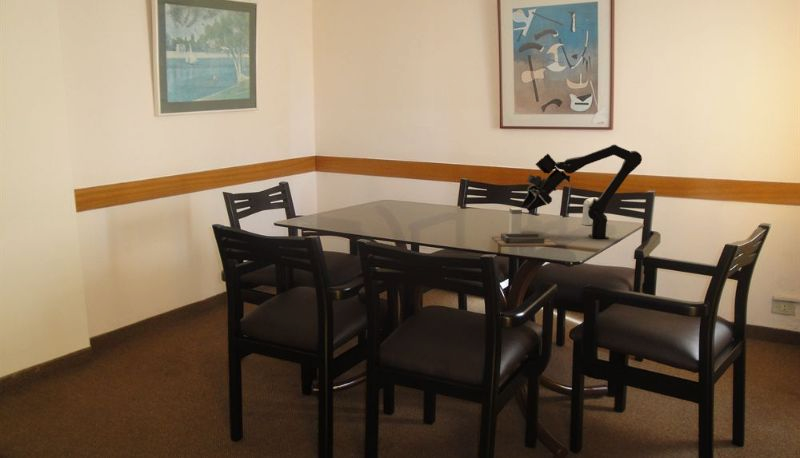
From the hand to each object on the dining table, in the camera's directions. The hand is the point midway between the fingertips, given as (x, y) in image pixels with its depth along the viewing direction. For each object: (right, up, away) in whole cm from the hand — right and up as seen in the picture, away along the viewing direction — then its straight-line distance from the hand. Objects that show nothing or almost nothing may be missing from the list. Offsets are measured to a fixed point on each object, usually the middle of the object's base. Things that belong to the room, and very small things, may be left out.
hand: (524, 208), depth 295 cm
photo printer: (+36, -7, +29) cm, 47 cm away
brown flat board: (-3, -14, -13) cm, 19 cm away
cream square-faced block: (-4, -11, +2) cm, 12 cm away
